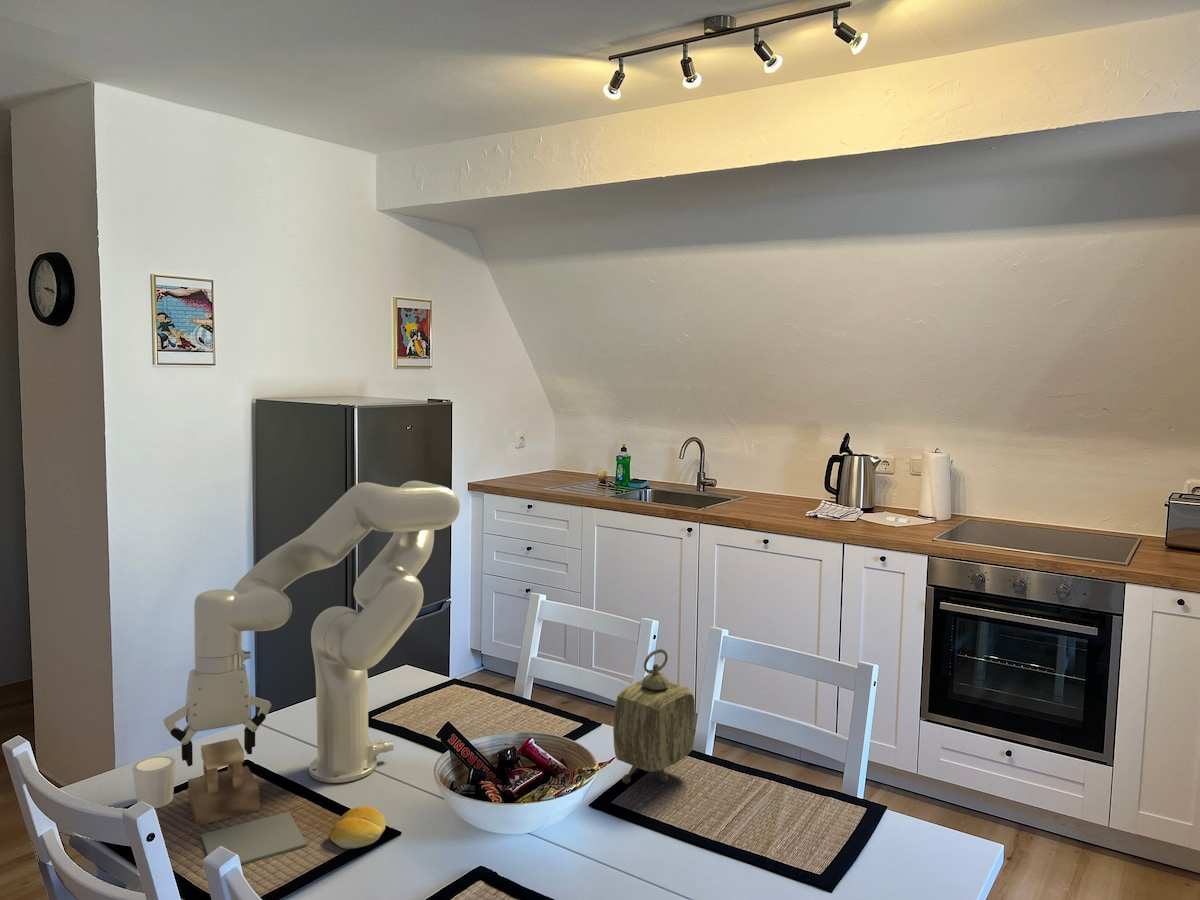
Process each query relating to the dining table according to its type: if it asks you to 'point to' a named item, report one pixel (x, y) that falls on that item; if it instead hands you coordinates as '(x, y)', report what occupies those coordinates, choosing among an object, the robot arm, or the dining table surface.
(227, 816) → the step
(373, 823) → the bread roll
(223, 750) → the stool
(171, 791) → the cream cup
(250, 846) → the mat
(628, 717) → the tabletop clock
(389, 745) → the robot arm
